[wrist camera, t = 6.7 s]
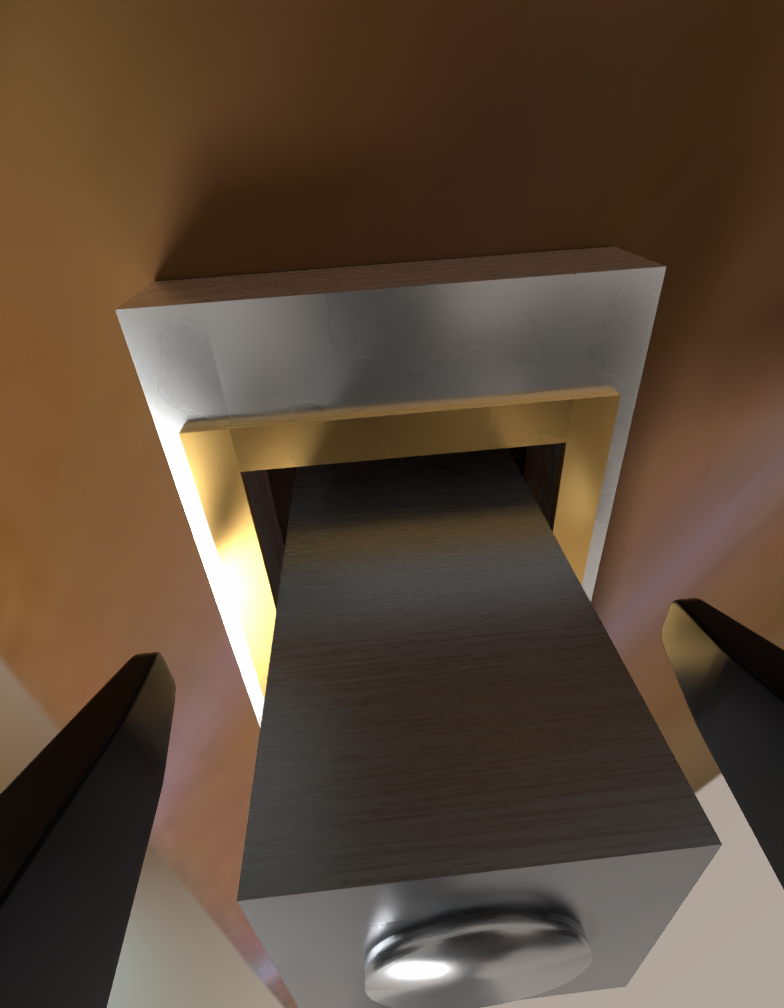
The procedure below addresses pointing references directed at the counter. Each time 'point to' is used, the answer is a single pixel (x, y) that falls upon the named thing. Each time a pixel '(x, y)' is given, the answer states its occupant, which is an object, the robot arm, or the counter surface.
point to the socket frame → (389, 393)
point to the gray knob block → (453, 754)
